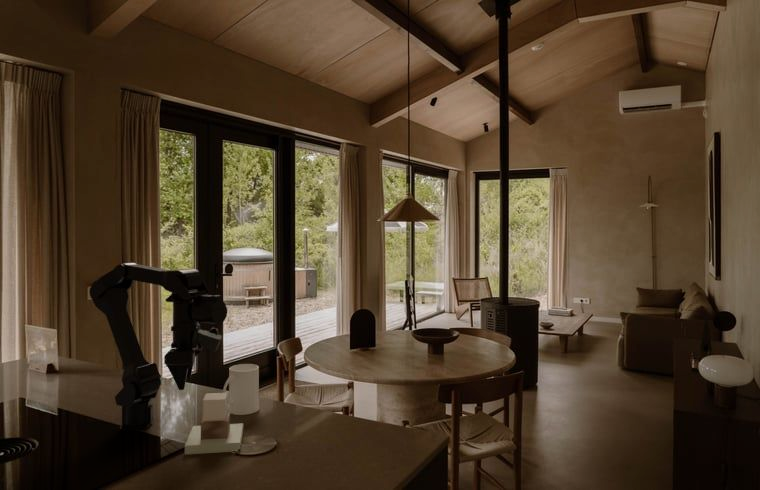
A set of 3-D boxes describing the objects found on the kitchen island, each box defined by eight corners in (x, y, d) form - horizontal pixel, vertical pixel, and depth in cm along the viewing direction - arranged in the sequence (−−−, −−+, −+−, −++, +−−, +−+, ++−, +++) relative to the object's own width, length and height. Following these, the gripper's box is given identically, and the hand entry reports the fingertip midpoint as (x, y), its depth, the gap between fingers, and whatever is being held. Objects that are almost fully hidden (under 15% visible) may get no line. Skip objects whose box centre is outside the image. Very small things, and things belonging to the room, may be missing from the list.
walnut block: (200, 439, 122) (200, 422, 122) (204, 429, 128) (204, 413, 128) (227, 438, 123) (227, 421, 123) (229, 428, 129) (230, 412, 129)
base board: (184, 454, 118) (184, 445, 118) (193, 434, 130) (193, 426, 130) (239, 451, 121) (239, 442, 121) (243, 431, 132) (243, 423, 132)
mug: (232, 420, 140) (232, 375, 139) (211, 413, 144) (212, 370, 144) (265, 409, 149) (266, 366, 149) (245, 402, 154) (245, 362, 154)
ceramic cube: (202, 421, 122) (203, 400, 122) (205, 414, 127) (205, 393, 127) (225, 420, 123) (225, 399, 123) (227, 413, 128) (227, 392, 128)
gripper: (215, 327, 121) (214, 394, 122) (223, 314, 140) (222, 372, 140) (164, 328, 119) (163, 396, 120) (179, 314, 138) (178, 374, 138)
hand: (184, 384), depth 129 cm, fingers open, 9 cm apart
